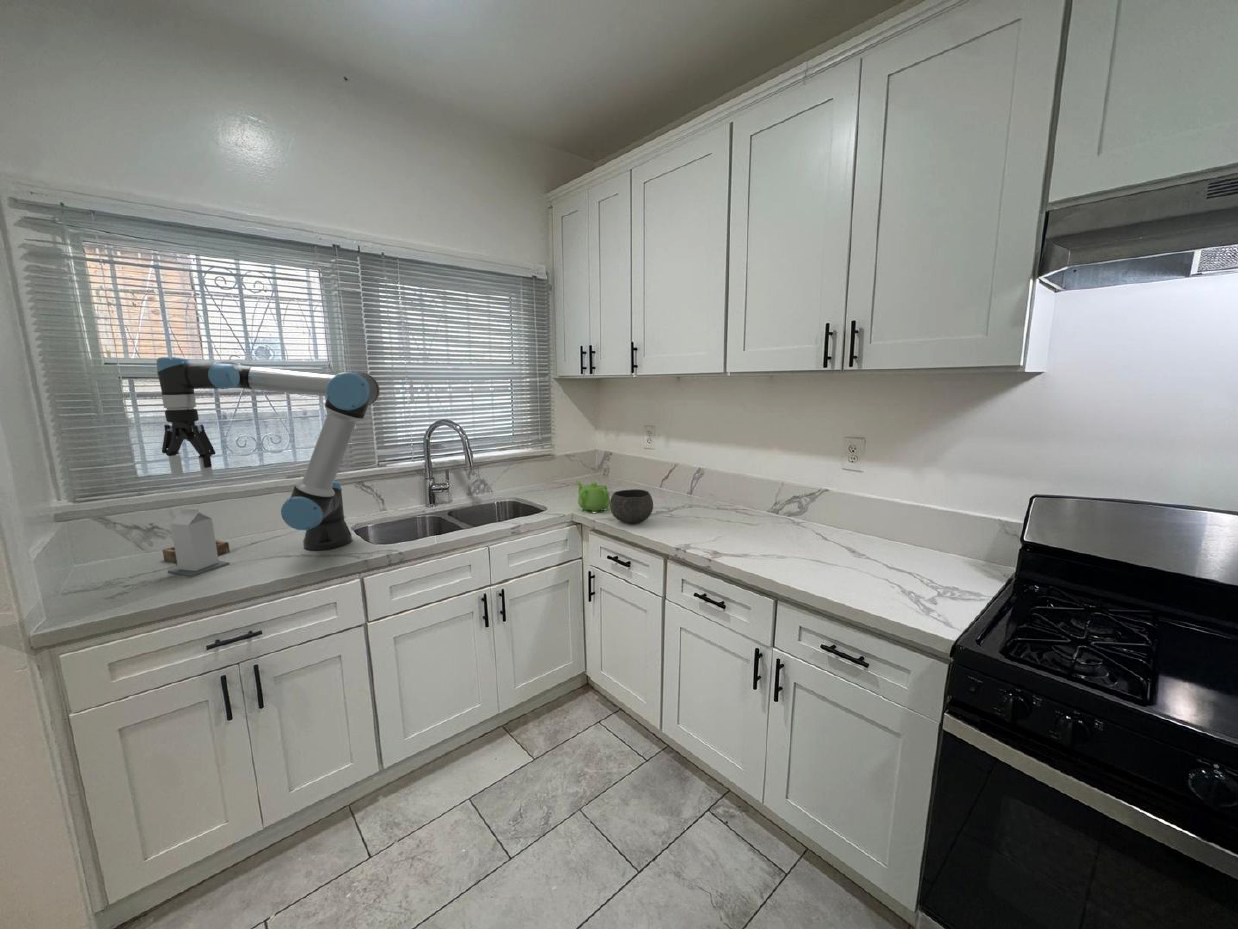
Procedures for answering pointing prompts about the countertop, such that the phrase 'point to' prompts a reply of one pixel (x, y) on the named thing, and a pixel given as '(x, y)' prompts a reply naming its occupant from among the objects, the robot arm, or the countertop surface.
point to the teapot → (593, 497)
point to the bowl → (631, 505)
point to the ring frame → (220, 545)
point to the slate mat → (194, 573)
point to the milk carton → (194, 540)
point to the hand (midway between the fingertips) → (192, 476)
